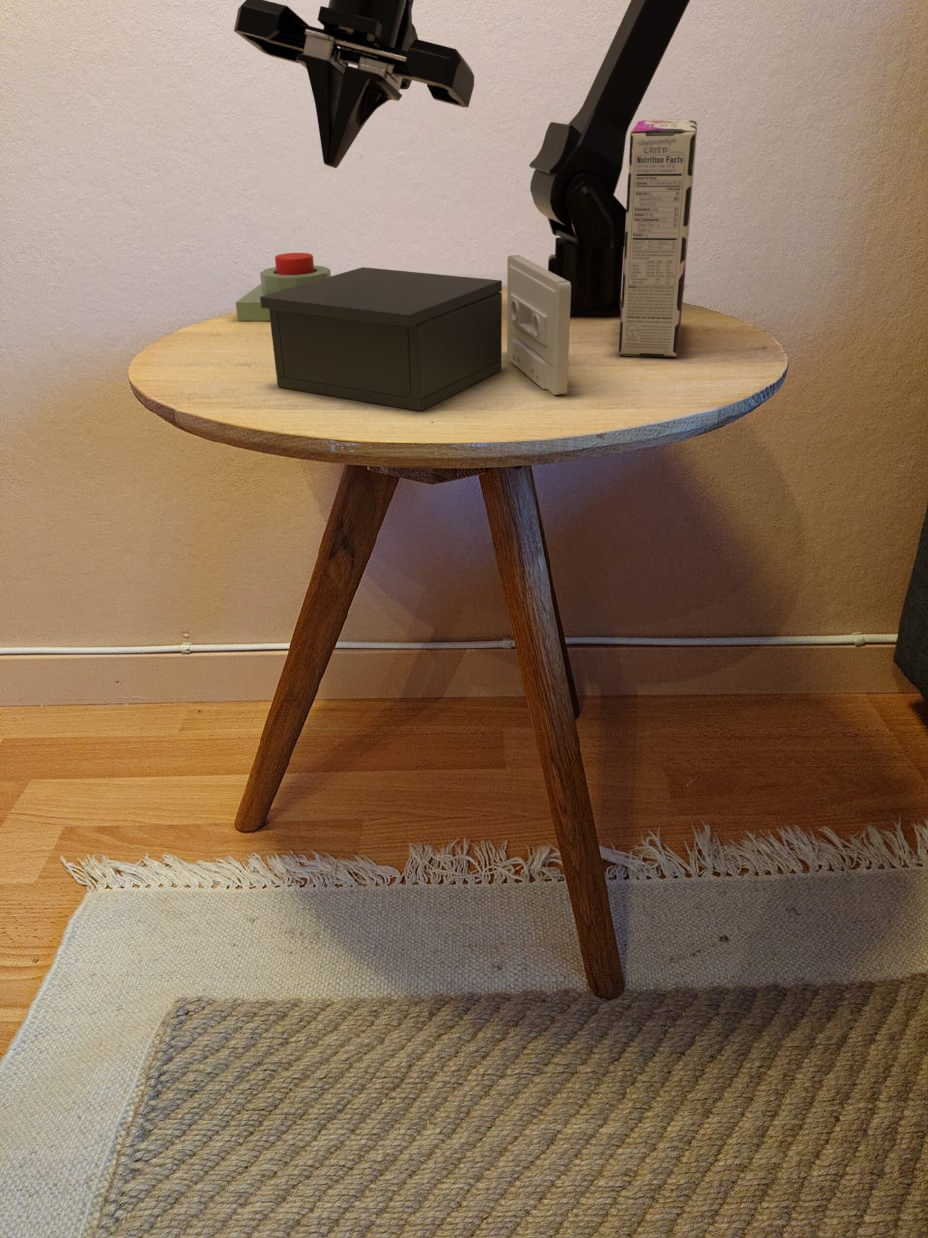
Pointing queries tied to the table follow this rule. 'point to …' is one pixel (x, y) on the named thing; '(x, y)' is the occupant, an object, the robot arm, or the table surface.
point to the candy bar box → (656, 236)
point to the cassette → (538, 323)
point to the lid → (382, 295)
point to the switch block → (273, 291)
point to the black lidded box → (389, 354)
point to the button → (294, 263)
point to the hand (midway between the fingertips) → (330, 165)
